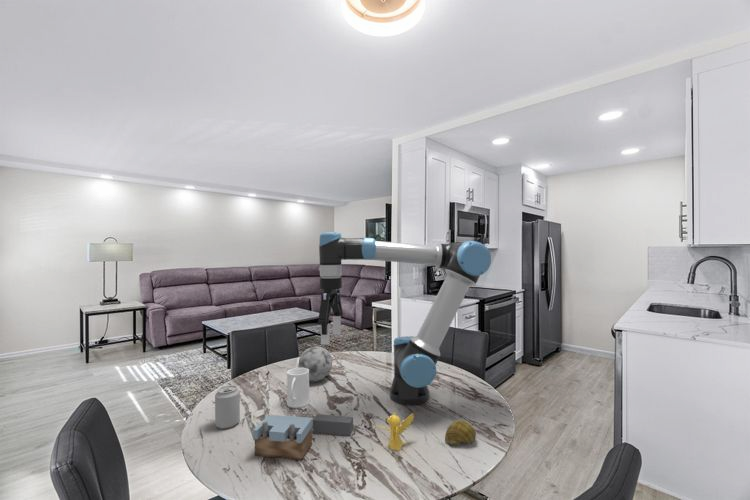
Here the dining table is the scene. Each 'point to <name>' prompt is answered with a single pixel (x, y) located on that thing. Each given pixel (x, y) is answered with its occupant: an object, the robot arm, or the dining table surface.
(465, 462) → the dining table surface
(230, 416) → the can
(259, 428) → the door
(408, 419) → the figurine
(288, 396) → the mug
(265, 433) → the carcass
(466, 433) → the seashell
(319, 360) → the stone
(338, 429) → the gray rectangular block
